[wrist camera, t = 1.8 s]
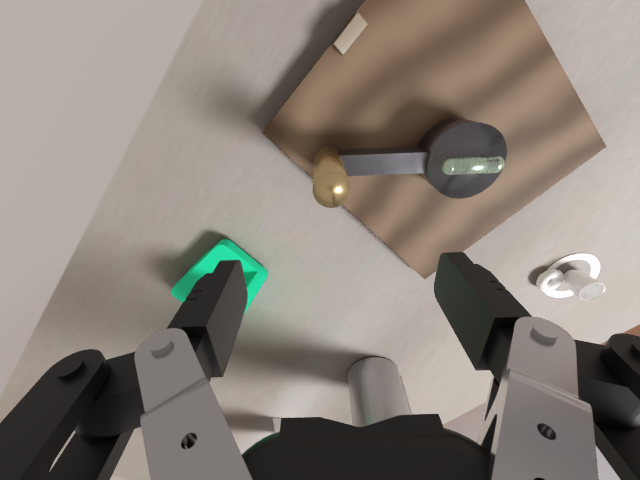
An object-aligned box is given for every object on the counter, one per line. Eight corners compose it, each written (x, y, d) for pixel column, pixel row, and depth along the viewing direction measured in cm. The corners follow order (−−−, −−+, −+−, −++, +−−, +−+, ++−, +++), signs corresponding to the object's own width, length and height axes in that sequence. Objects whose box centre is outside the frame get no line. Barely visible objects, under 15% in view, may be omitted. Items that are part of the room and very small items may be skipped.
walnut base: (590, 143, 31) (613, 148, 29) (420, 270, 40) (426, 282, 37) (446, -104, 22) (462, -127, 20) (265, 130, 31) (260, 133, 28)
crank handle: (489, 116, 28) (575, 130, 19) (473, 183, 31) (540, 224, 22) (313, 124, 28) (310, 141, 19) (316, 189, 32) (314, 232, 22)
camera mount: (227, 232, 37) (197, 278, 28) (269, 266, 40) (255, 319, 31) (176, 281, 41) (136, 335, 32) (218, 309, 44) (192, 367, 35)
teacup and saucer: (522, 283, 42) (541, 301, 38) (564, 241, 38) (590, 257, 35) (565, 301, 43) (587, 321, 40) (609, 263, 40) (638, 280, 36)
